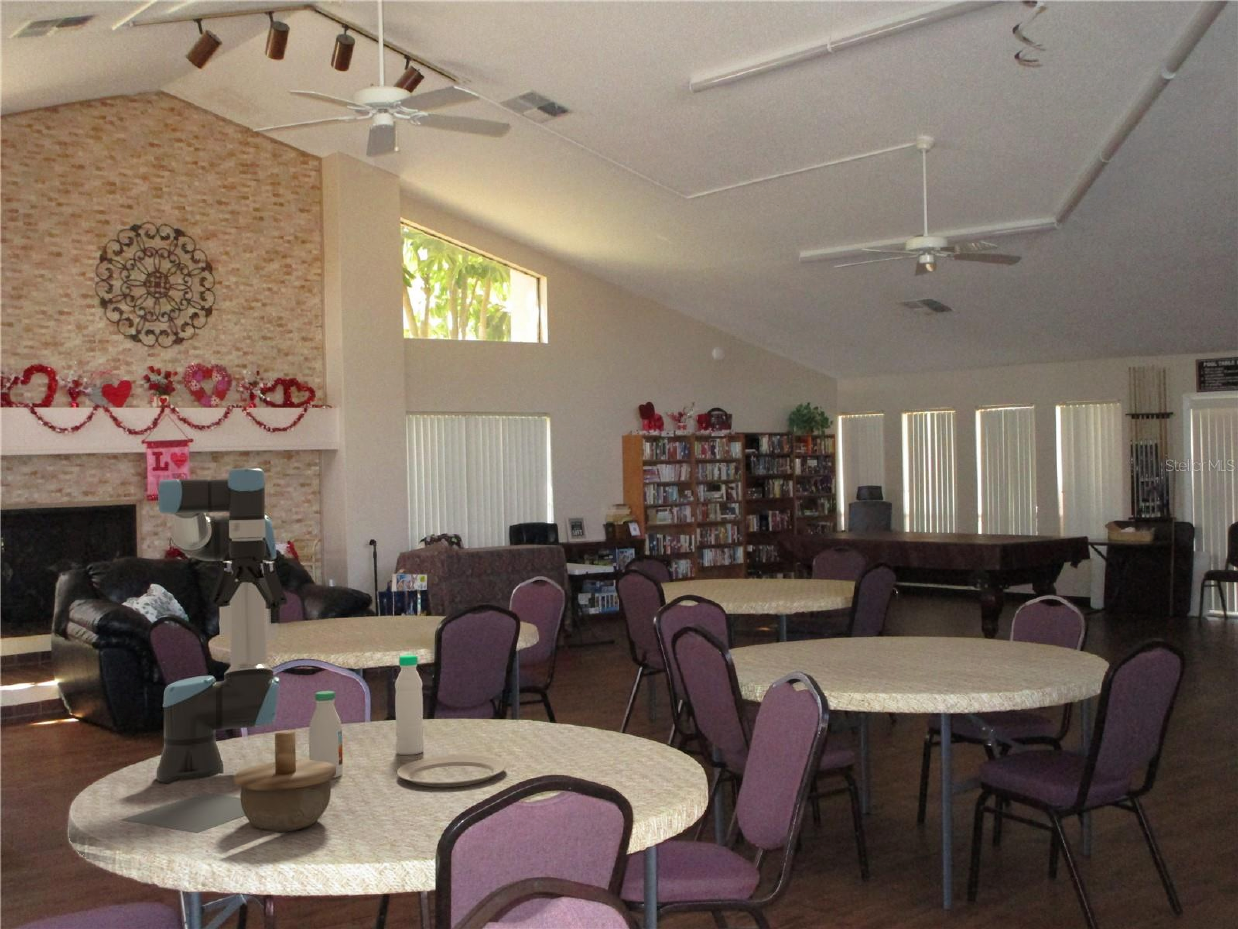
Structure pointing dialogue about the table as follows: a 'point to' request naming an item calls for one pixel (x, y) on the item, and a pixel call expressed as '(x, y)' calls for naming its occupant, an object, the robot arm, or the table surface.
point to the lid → (285, 769)
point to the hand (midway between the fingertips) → (248, 637)
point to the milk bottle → (326, 732)
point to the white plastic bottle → (409, 708)
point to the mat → (193, 813)
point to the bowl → (285, 806)
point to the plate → (453, 760)
